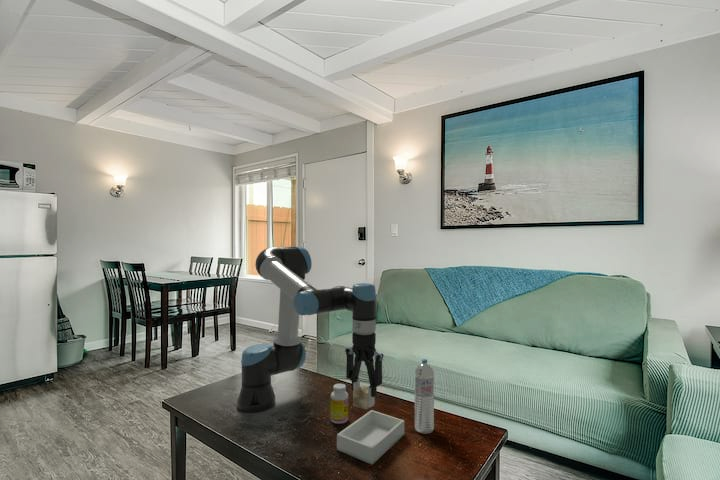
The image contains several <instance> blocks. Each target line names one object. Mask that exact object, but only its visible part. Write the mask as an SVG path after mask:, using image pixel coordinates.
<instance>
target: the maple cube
mask: <svg viewBox="0 0 720 480" xmlns="http://www.w3.org/2000/svg"><path fill="white" fill-rule="evenodd" d="M352 406H353V407H355V408H359V409H362V410H368V409H370V408H369V407H368V386H366V385H361V384H360V387H358V388H356V389H354V390H353V391H352Z"/></svg>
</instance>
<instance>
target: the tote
mask: <svg viewBox="0 0 720 480" xmlns="http://www.w3.org/2000/svg"><path fill="white" fill-rule="evenodd" d="M404 436H405V420H404V419H401V418H397V417H395V416H392V415H388V414H385V413H382V412H379V411H376V410H374V409H371V410H369V411H367V413H365V414H364V415H362V416H361V417H359V418H358V419H357V420H355V421H353V422H352V423H351V424H349V425H348V426H347V427H345V428H344V429H343V430H341V431H340V432H338V433H337V434H336V450H337V451H339V452H341V453H343V454H346V455H348V456H350V457H352V458H353V457H354V459H355V458H356V459H358V460H360V461H362V462H365V463H367V464H370V465H371V466H373V464H375V463H376V462H377V461H378V460H379V459H380V458H381V457H382V456H383V455H384V454H385V453H387V451H389V450H390V449H391V448H392V447H393V446H394V445H395V444H396V443H397V442H398V441H399V440H401V438H402V437H404Z"/></svg>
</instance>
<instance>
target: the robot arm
mask: <svg viewBox="0 0 720 480" xmlns="http://www.w3.org/2000/svg"><path fill="white" fill-rule="evenodd" d="M254 265H255V269H256V272H257V274H258V275H259V276H260V277H261V278H262V279H264V280H266V281H270V282H271V283H273V284H274V285H275V286H276V287H277V288H278V289H279V305H278V306H279V307H278V310H279V311H278V322H277V323H278V326H277V336H276V337H274V338H273V345H271V344H269V343H264V342H263V343H256V344H253V345H250V346H248V347H245V349H243V351H242V353H241V361H240V363H241V388H240V391H239V395H238V397H237V401H236V407H237V409H238V410H240V411H242V412H244V413H258V412H262V411H266V410H269V409H271V408H272V407H274V406H275V404H276V395H275V391H274V388H273V386H272V376H274V375H279V374H282V373H287V372H291V371H294V370H297V369H300V368H301V367H302V366H303V365H304V364H305V361H306V358H307V357H306V356H307V350H306V346H305V344H304V343H303V342H302V339H301V338H300V337H299V324H300V316H314V315H316V314H317V315H318V314H324V313H329V312H336V311H343V310H346V311H349V312H352V333H351V334H352V347H351V346H349V347H347V348H345V350H344V352H345V355H346V367H345V368H346V373H345V374H346V375H345V376H346V377H345V378H346V379H349V380H350V382H351V391H352V392H353V390H354V389H356V388H358V387H360V386H361V380H359V379H360V377H359V375H360V371H361V366H362V362H363V363H364V365H365V367H366V371H367V375H368V381H369V382H368V383H369V385H368V386H367V387H368V407H369V408H368V409H370V408H372V407H374V405H375V398H376V396H377V392H378V391H377V390H378V389H377V387H379V386H380V385H382V384H383V359H384V356H385V355H384V354H383V353H379V352H378V351H377V348H376V343H377V341H376V338H377V337H376V330H377V329H376V328H377V327H376V325H377V324H376V315H377V314H376V313H377V312H376V308H377V307H376V304H377V303H376V302H377V301H376V300H377V293H376V286H375V285H374V284H372V283H365V282H363V283H354V284H352V287H349V286H345V285H336V286H333V287H332V288H325V289H324V288H323V289H317V288H316V287H314V286H313V285H311V284H310V283H308V281H306V274H308V273H310V272H311V270H312V265H313V264H312V258H311V254H310V252H309V251H308V249H306V248H305V247H303V246H271V247H267V248H265V249H263V250H262V251H260V252H259V253H258V255H257V257H256V259H255V264H254Z"/></svg>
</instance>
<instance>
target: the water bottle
mask: <svg viewBox="0 0 720 480" xmlns="http://www.w3.org/2000/svg"><path fill="white" fill-rule="evenodd" d="M414 376H415V377H414V429H415V431H416V432H418V433H420V434H423V435H428V434H431V433H433V431H434V429H435V428H434V427H435V393H434V391H435V390H434V388H435V385H434V383H435V381H434V380H435V379H434V378H435V371H434V369H433V368H432V367H431V365H430V364H428V359H426V358H423V359H421V364H419V365H418V366H417V367H416V368H415V370H414Z"/></svg>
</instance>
